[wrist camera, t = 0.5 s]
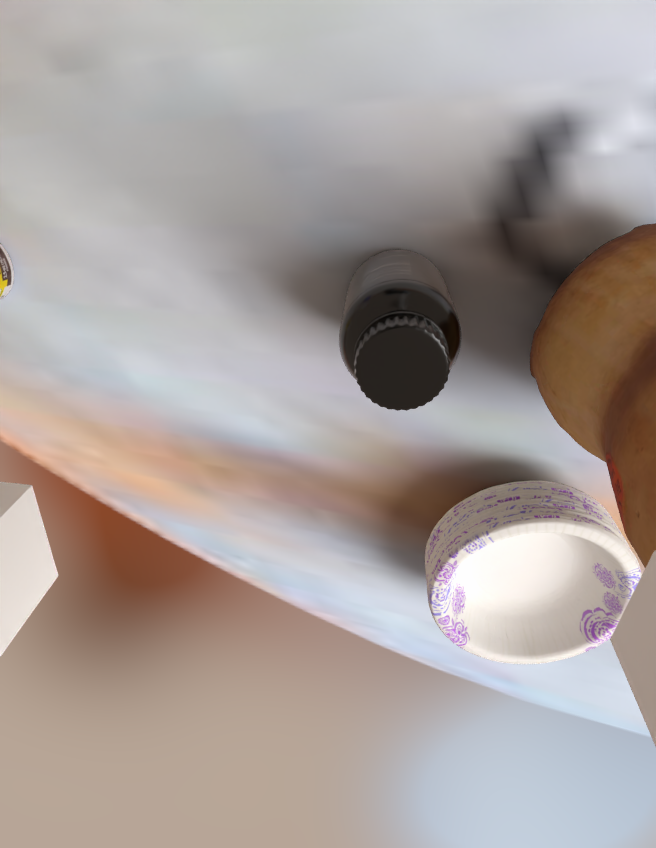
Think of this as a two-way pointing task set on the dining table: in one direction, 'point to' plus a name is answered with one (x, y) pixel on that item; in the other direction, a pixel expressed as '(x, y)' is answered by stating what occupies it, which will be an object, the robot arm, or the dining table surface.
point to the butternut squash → (608, 371)
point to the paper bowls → (528, 573)
